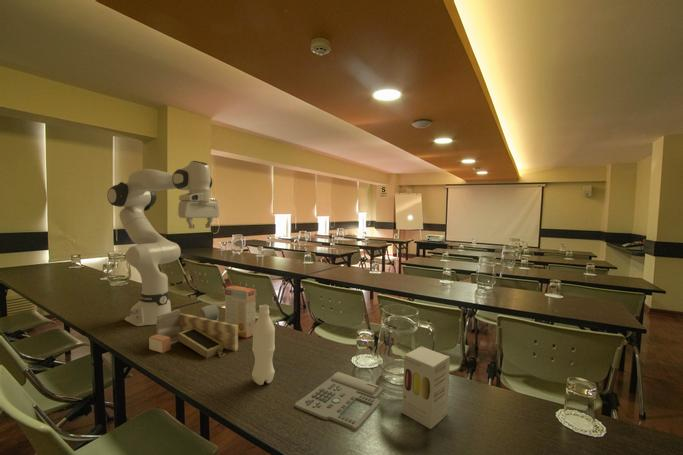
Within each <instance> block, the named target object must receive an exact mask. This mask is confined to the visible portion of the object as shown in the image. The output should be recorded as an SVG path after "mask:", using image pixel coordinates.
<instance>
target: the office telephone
mask: <svg viewBox="0 0 683 455" xmlns="http://www.w3.org/2000/svg"><path fill="white" fill-rule="evenodd" d="M383 391H384V388H383V387H382V386H380V385H378V384H375V383H373V382H369V381H366V380H364V379H361V378H359V377H355V376H352V375H349V374H346V373H343V372H341V371H337V372H335V373H334V374H333V375H332V376H330V377H329V378H328V379H326V380H325V381H324V382H323V383H321V384H319V386H317V387H316V388H314V389H313V390H312V391H310V392H309V393H308V394H306V395H305V396H304V397H302V398H300V399H299V400H297V401H296V402H295V403H294V407H295V408H296V409H298V410H301V411H303V412H306V413H308V414H310V415H313V416H315V417H318V418H319V419H322V420H324V421H325V420H326V421H327V420H328V421H329V420H330V421H333V422H335V423H338V424H340V425H343V426H345V427H347V428H350V429H351V430H353V431H358V430H359V429H360V428H361V427H362V426H363V425H364V423H365V422H366V421H367V420H368V419H369V418H370V417H371V416H372V414H373V413H374V412H375V411H376V409H377V408H379V407H380V404H381V400H378V399H377V398H378V397H379V396H380V395H381V394H382V392H383ZM355 401H359V402H362V403H365V404H367V405H370V407H369V408H368V409H367V410H366V411H365V412H364V414H363V415H362V416H361V417H360V418H359V419H358V420H354V419H353V418H349V417H347V416H344V415H343V414H344V413H345V411H347V409H348V408H350V407H351V406H352V404H354V403H355Z"/></svg>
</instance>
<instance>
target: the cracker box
mask: <svg viewBox="0 0 683 455" xmlns="http://www.w3.org/2000/svg"><path fill="white" fill-rule="evenodd" d="M224 292H225V293H224V296H225V298H224V300H225V301H224V309H225V310H224V322H226V323H230V324H235V325H238V337H240V338H244V339H247V338H250V337H253V333H252V332H253V328H254V325H255V323H256V304H257V303H256V298H257V297H256V296H257V290H256V289H255V288H249V287H244V286H239V285H230V286H226V287H225V289H224Z"/></svg>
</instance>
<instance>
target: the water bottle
mask: <svg viewBox="0 0 683 455" xmlns="http://www.w3.org/2000/svg"><path fill="white" fill-rule="evenodd" d="M269 308H270V307H269V304H260V305H259V308H258V309H259V310H258V312H257V313H258V317H257V319H256V321H255V325H254V328H253V332H252V333H253V336H252V348H251V350H252V353H253V355H254V363H253V364H254V366H253V369H252V373H251V375H252V376H251V377H252V381H253V382H254V383H256V384H257V385H259V386H262V385H264V383H267V384H270V383H272V381H273V379H274V376H275V373H276V372H275V369H274V368H275V367H274V365H273V357H274V352H275V350H276V344H275V341H276V340H275V332H276V328H275V325H274V323H273V321H272V320H271V318H270V309H269Z"/></svg>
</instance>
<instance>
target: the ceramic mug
mask: <svg viewBox="0 0 683 455" xmlns="http://www.w3.org/2000/svg"><path fill="white" fill-rule="evenodd" d="M218 307H219V306H218V305H217V304H215V303H213V304H208V305H205V306H203V307H201V308H199V309H197V317H202V318H207V319H211V320H216V321H219V317H220V310H219V308H218Z"/></svg>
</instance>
